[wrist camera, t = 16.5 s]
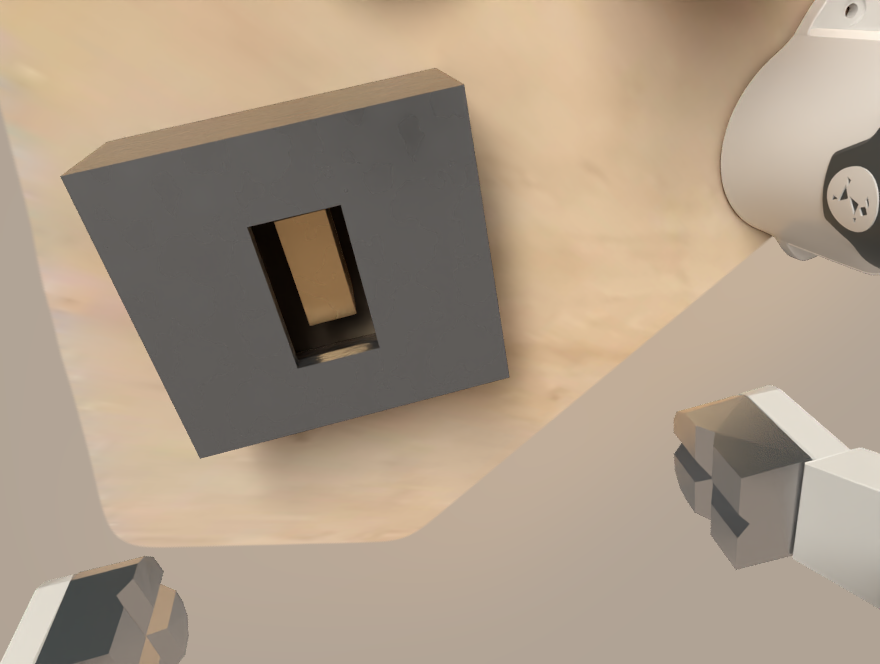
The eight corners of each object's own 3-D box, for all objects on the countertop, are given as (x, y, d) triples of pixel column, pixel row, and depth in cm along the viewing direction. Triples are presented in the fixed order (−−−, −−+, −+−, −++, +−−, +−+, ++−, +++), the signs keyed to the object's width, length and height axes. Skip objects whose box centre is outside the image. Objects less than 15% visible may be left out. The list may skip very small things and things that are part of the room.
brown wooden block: (323, 186, 40) (325, 209, 36) (351, 282, 44) (356, 313, 40) (277, 197, 40) (273, 222, 36) (309, 292, 44) (310, 325, 39)
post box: (435, 67, 38) (464, 84, 31) (479, 320, 47) (509, 377, 40) (106, 141, 37) (60, 176, 30) (216, 388, 46) (200, 458, 39)
